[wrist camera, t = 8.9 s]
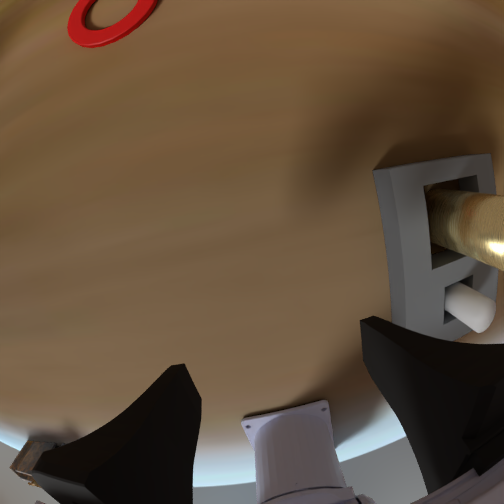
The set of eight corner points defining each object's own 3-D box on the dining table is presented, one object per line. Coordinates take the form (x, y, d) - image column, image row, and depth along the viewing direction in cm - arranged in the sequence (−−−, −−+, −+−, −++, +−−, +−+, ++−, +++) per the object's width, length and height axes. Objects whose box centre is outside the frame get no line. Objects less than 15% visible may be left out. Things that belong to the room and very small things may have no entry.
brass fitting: (457, 237, 19) (534, 265, 10) (419, 248, 19) (499, 284, 11) (453, 186, 18) (535, 195, 9) (414, 192, 18) (501, 203, 10)
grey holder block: (478, 308, 21) (516, 332, 15) (392, 349, 21) (425, 388, 15) (471, 154, 18) (520, 152, 12) (372, 170, 18) (419, 166, 12)
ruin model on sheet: (62, 438, 25) (35, 486, 15) (76, 452, 25) (53, 500, 16) (26, 437, 25) (2, 473, 16) (38, 449, 26) (16, 487, 17)
